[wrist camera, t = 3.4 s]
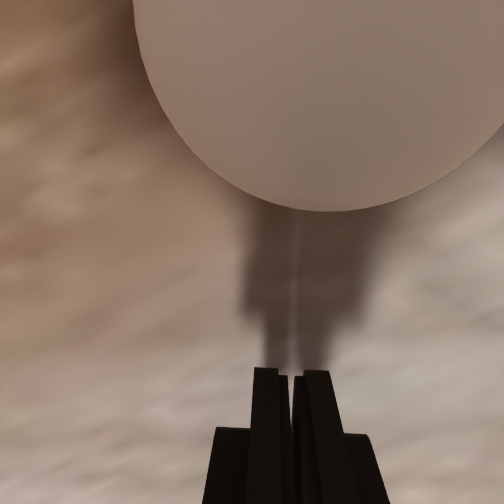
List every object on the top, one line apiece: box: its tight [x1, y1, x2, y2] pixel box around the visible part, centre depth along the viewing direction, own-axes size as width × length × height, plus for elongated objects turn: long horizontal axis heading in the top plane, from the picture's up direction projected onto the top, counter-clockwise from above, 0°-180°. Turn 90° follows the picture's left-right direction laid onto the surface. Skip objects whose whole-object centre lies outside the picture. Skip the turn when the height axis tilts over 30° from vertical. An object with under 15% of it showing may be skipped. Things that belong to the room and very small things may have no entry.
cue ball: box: [133, 0, 504, 212], centre depth 6 cm, size 6×6×6 cm
